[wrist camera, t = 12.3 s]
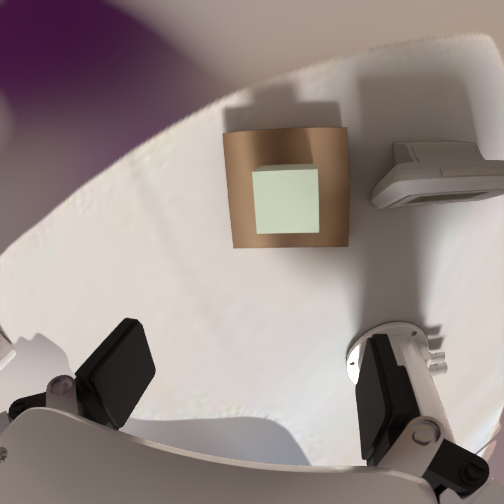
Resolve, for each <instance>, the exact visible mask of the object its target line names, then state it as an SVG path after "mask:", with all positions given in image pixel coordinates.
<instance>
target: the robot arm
mask: <svg viewBox="0 0 504 504" xmlns="http://www.w3.org/2000/svg"><path fill="white" fill-rule="evenodd" d="M428 350H429V345H428V341H427V338H426V336H425V334H424V332H423V331H422V330H421V329H420V328H419V327H417V326H416V325H414V324H411V323H407V322H392V323H387V324H383V325H381V326H378V327H375V328H374V329H372V330H370V331H368V332H367V333H365V334H364V335H363V336H361V337H360V338H359V339H358V340H357V341H356V342H355V343H354V345H353V346H352V347H351V349H350V351H349V353H348V356H347V360H346V367H347V373H348V375H349V377H350V379H351V380H352V381H353V382H354V383H355V384H356V389H355V393H356V402H357V411H358V420H359V430H360V441H361V454H362V459H363V460H366V461H367V466H298V465H281V464H268V463H259V462H250V461H242V460H235V459H228V458H222V457H217V456H211V455H206V454H201V453H196V452H191V451H186V450H182V449H178V448H174V447H170V446H166V445H163V444H159V443H155V442H152V441H149V440H145V439H142V438H139V437H136V436H133V435H129V434H126V433H123V432H121V431H118V430H119V428H121V427H123V426H124V424H125V423H126V421H127V419H128V418H129V416H130V414H131V413H132V411H133V410H134V408H135V406H136V405H137V403H138V401H139V400H140V398H141V396H142V395H143V393H144V392H145V390H146V388H147V387H148V385H149V383H150V382H151V380H152V379H153V377H154V375H155V371H156V369H155V365H154V362H153V359H152V356H151V353H150V349H149V346H148V343H147V339H146V336H145V332H144V329H143V325H142V324H141V323H140V322H139V321H138V320H137V319H131V318H125V319H124V320H123V321H122V322H121V323H120V324H119V325H118V326H117V327H116V328H115V329H114V330H113V331H112V332H111V334H110V335H109V336H108V337H107V338H106V339H105V340H104V341H103V342H102V343H101V344H100V346H99V347H98V348H97V349H96V350H95V351H94V352H93V353H92V354H91V355H90V357H89V358H88V359H87V360H86V361H85V362H84V363H83V364H82V366H81V367H80V368H79V369H78V370H77V371H76V372H75V375H76V378H75V379H73V378H72V377H71V376H68V375H60V376H57V377H55V378H53V379H52V380H51V381H50V382H49V383H48V385H47V389H46V392H44V393H40V394H36V395H32V396H28V397H24V398H20V399H17V400H16V401H14V402H13V403H12V404H11V406H10V408H9V413H7V411H4V412H2V413H0V504H504V486H503V485H502V484H501V483H500V482H499V481H498V480H497V479H496V478H494V479H491V478H490V477H489V466H488V464H487V462H486V461H485V460H484V459H483V458H481V457H479V456H477V455H475V454H473V453H471V452H469V451H468V450H466V449H464V448H462V447H460V446H458V445H456V443H455V440H454V437H453V434H452V431H451V428H450V425H449V422H448V419H447V416H446V414H445V411H444V408H443V405H442V402H441V400H440V397H439V394H438V392H437V389H436V387H435V384H434V381H433V379H432V376H433V375H434V376H437V375H443V374H446V372H447V364H446V362H441V363H435V364H432V365H430V364H431V362H440V361H444V360H445V353H444V352H440V353H435V354H431V353H430V352H428Z"/></svg>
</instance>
